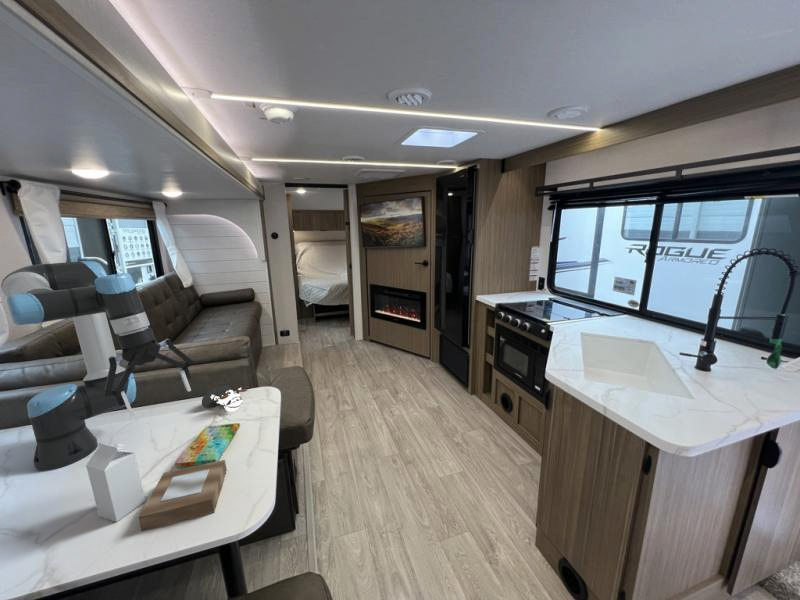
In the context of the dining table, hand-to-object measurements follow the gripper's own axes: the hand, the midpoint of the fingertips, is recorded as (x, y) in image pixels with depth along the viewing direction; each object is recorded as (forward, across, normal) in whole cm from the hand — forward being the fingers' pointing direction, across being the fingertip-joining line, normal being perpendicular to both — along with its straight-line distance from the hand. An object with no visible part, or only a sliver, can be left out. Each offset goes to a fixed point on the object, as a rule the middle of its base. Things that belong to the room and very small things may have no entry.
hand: (161, 401), depth 91 cm
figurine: (+25, +22, +37) cm, 50 cm away
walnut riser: (+26, -3, -8) cm, 27 cm away
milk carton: (+24, -16, +2) cm, 29 cm away
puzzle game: (+26, +8, +10) cm, 29 cm away
